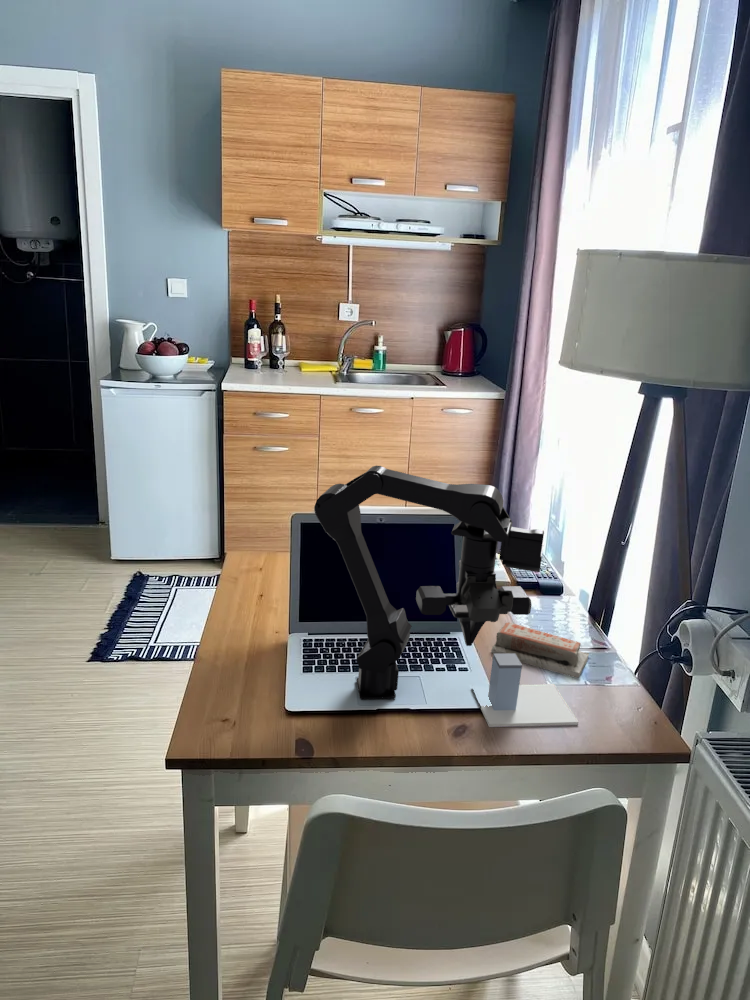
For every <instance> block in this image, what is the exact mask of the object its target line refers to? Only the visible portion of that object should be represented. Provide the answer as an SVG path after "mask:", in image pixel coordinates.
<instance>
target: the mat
mask: <svg viewBox="0 0 750 1000" xmlns="http://www.w3.org/2000/svg"><path fill="white" fill-rule="evenodd" d="M480 711H481V712H482V715H483V717H484V718H485V719H484V720H485V722H486V723H487V726H488V727H489V728H504V727H505V728H507V727H508V728H509V727H513V728H514V727H539V726H540V727H542V726H544V727H545V726H547V727H548V726H549V727H552V726H554V727H555V726H579V720H578V719H577V716H575V714H574V712H573V711H572V710H571V708H570V706H569V705H568V704H567V702H566V700H565V699H564V697H563V696H562V694H561V693H560V690H559V689H558V687H557V686H556V684H554V683H552V684H551V683H550V684H549V683H546V684H545V683H544V684H537V683H536V684H519V691H518V698H517V705H516V710H493V707H492V706H489V707H488V706H487V705H486V706H485V707H484V706H481V708H480Z"/></svg>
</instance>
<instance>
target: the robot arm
mask: <svg viewBox="0 0 750 1000" xmlns="http://www.w3.org/2000/svg"><path fill="white" fill-rule="evenodd" d="M374 495H379V496H380V495H381V496H384V497H387V498H392V499H395V500H401V501H405V502H407V503H413V504H417V505H419V506H424V507H428V508H432V509H436V510H439V511H443V512H444V513H447V514H449V515H450V516H452V517H453V518H455V519H457V520H458V521H460V522H458V523H456V524H455V525H453V528H452V531H451V532H450V533H451V535H452V536H457V537H458V536H459V537H462V543H461V544H462V545H461V553H460V554H461V555H460V556H461V557H460V559H459V560H458V567H459V571H458V573H459V574H458V581H457V582H456V584H455V585H456V587H455V589H456V591H457V592H456V593H444V591H443V589H442V588H441V586H440V585H422V586H421V585H420V586H419V588H418V589H417V590H416V595H415V596H416V597H415V600H416V601H415V602H416V604H417V606H418V608H419V611H420V613H421V614H422V615H425V616H441V615H442V614H444V613H445V612H446V609H447V606H448V607H449V609H450V612H451V613H452V615H453V617H454V618H455V619H458V620H459V623H460V624H459V625H460V628H461V632H462V635H463V636H462V637H463V639H464V640H463V641H464V643H465V645H466V647H471V646H472V645H473V644H474V641H475V640H476V638H477V635H479V633H480V631H481V629H482V627H483V626H484V625H485V623H486V622H491V623H496V622H498V620H499V619H500V615H508V613H511V614H512V615H514V616H515V615H518V616H519V615H522V616H523V615H527V616H528V615H530V614H531V610H532V600H531V598H530V596H529V595H528V594H527V592H526V591H525V589H523V587H521V585H516V586H514V585H513V586H512V585H511V586H510V585H509V586H507V585H505V586H500V588H497V584H496V581H497V577H496V576H497V573H496V571H495V566H496V559H497V552H498V544H499V543H501V544H500V550H499V559H498V560H499V561H502V564H501V565H505V568H511V569H515V570H521V571H522V570H523V571H527V572H534V573H540V571H541V566H542V559H543V558H542V557H543V553H544V545H543V542H544V536H545V535H544V534H545V531H544V530H542V529H528V528H522V527H515V526H513V523H514V522H513V520H512V518H511V517H510V515H509V514H508V512H507V510H506V509H505V507H504V499H503V495H502V494H501V492H500V490H499V489H498V488H497V487H495V486H493V485H489V484H481V483H479V484H478V483H461V484H452V483H446V482H441V481H438V480H434V479H431V478H426V477H421V476H417V475H414V474H410V473H405V472H403V471H402V472H401V471H397V470H393V469H388V468H386V467H384V466H382V465H373V466H371V467H370V468H369V469H367V471H366V472H364V473H362V474H360V475H358V476H357V477H354V479H351V480H350V481H348V482H347V483H345V484H344V483H334V484H333V485H331V486H330V487H329V488H327V489H326V491H325V492H323V493H322V494H321V495H320V496H319V497H318V498H317V499H316V501H315V503H314V515H315V517H316V519H317V520H318V522H319V523H320V525H321V526H322V528H323V530H324V532H325V533H326V534H327V535H328V536H329V537H330V538H332V540H334V541H335V542H336V544H337V546H338V548H339V551H340V554H341V555H342V559H343V561H344V563H345V565H346V569H347V571H348V573H349V576H350V579H351V581H352V583H353V585H354V587H355V590H356V593H357V596H358V599H359V601H360V603H361V606H362V608H363V610H364V614H365V617H366V636H367V640H366V642H365V644H364V645H363V647H362V649H361V651H360V652H359V654H358V655H357V657H356V662H357V665H358V677H357V678H356V680H355V681H356V686H357V691H358V696H359V699H360V700H392V699H391V698H395V699H396V697H397V695H396V694H397V693H396V691H397V690H398V685H399V684H398V683H399V671H400V670H399V668H398V665H397V661H398V660H399V659H400V658H401V656H402V654H403V653H404V650H405V648H406V647H407V644H408V641H409V640H410V637H411V632H410V631H411V629H412V627H413V626H412V624H411V623H410V622H409V621H408V619H407V614H406V610H405V608H404V607H402V608H400V609H397V608H395V607H394V606H393V605H392V604H391V603H390V601H389V598H388V596H387V593H386V591H385V589H384V586H383V583H382V581H381V578H380V575H379V573H378V570H377V568H376V565H375V562H374V560H373V558H372V555H371V552H370V550H369V548H368V546H367V542H366V540H365V537H364V535H363V533H362V518H361V517H362V515H361V508H360V505H361V504H362V503H364V502H365V501H367V500H368V499H369V498H371V497H373V496H374Z"/></svg>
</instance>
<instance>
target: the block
mask: <svg viewBox="0 0 750 1000" xmlns="http://www.w3.org/2000/svg"><path fill="white" fill-rule="evenodd" d="M492 654H493V653H492ZM491 661H492V662H491V670H490V671H491V672H490V676H489V677H490V678H489V684H488V685H489V692H488V697H489V700H490V702H491V704H492V707H493V710H516V705H517V698H518V691H519V685H521V684H520V681H521V675H522V669H523V668H522V667H523V664H522V662H520V661H519V659H518V657H517V656H516V654H515V653H503V654H493V656H492V660H491Z"/></svg>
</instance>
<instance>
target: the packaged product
mask: <svg viewBox="0 0 750 1000" xmlns="http://www.w3.org/2000/svg"><path fill="white" fill-rule="evenodd" d="M495 639H496V641H495V643H494V645H493V646H492V648H491V654H503V653H515V654H516V656H517V657H518V659H519V661H520V662H521V663H523V664H526V665H530V666H534V667H535V668H536V667H537V668H540V669H544V670H547V671H551V672H553V673H558V674H561V675H564V676H567V677H572V678H577V679H578V678H579V677H580V675H581V674H582V671H583V670H584V667H585V666H586V664H587V662H588V659H589V655H590V653H589V652H586V651H585V652H584V651H581V650H580V647H581V646H582V644H581V642H579V641H576V640H573V639H569V638H566V637H561V636H559V635H555V634H552V633H548V632H545V631H541V630H537V629H535V628H531V627H527V626H524V625H520V624H516V623H513V622H505V623H504V625H502V626H501V627H500V629H499V631H498V632H497V633H496V637H495Z"/></svg>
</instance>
